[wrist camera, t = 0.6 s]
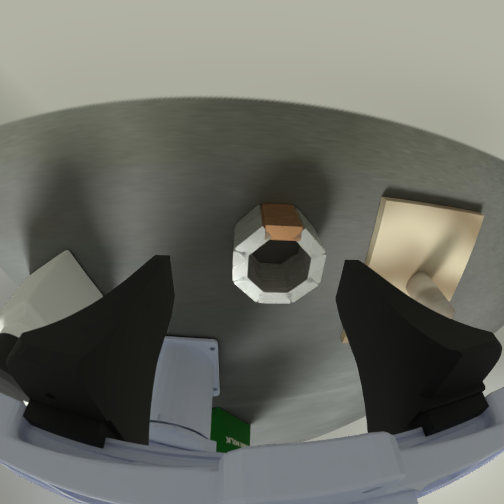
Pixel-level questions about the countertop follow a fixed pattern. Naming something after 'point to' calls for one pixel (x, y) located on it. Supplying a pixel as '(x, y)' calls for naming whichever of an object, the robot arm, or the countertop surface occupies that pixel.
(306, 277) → the collar
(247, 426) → the milk carton
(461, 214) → the duct board
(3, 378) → the medicine bottle
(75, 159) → the countertop surface
